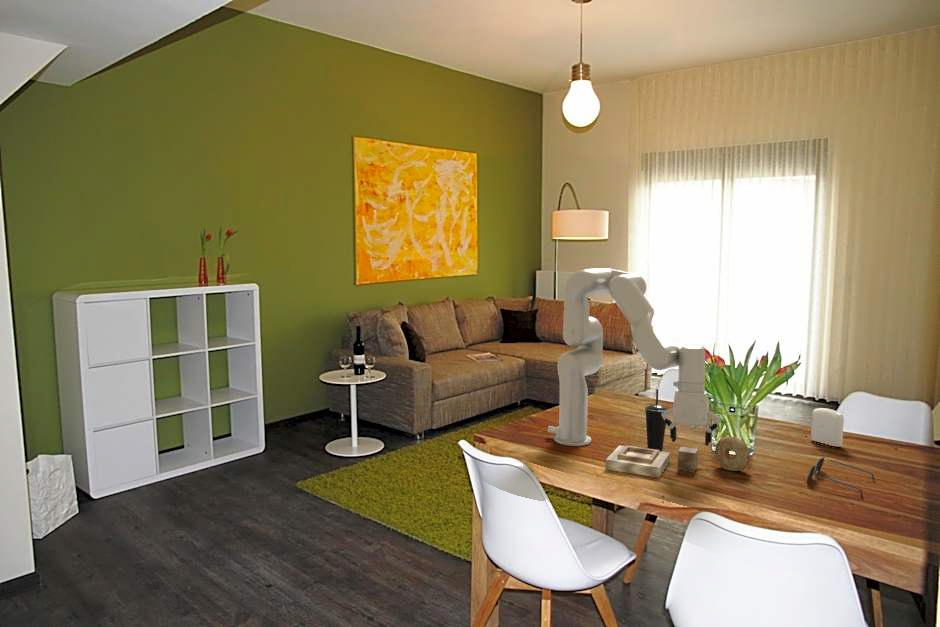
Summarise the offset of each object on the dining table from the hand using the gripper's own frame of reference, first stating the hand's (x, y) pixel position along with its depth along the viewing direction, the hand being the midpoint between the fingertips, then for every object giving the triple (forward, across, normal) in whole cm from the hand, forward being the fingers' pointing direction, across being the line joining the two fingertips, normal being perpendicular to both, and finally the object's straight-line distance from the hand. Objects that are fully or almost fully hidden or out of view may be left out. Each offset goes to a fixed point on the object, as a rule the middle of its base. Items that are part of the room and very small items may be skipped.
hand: (690, 442), depth 208 cm
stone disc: (+9, +11, +5) cm, 15 cm away
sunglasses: (+10, +40, +8) cm, 42 cm away
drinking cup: (+8, -14, +16) cm, 23 cm away
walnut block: (+8, -1, 0) cm, 8 cm away
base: (+8, -15, -4) cm, 17 cm away
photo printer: (+9, +37, +48) cm, 62 cm away
